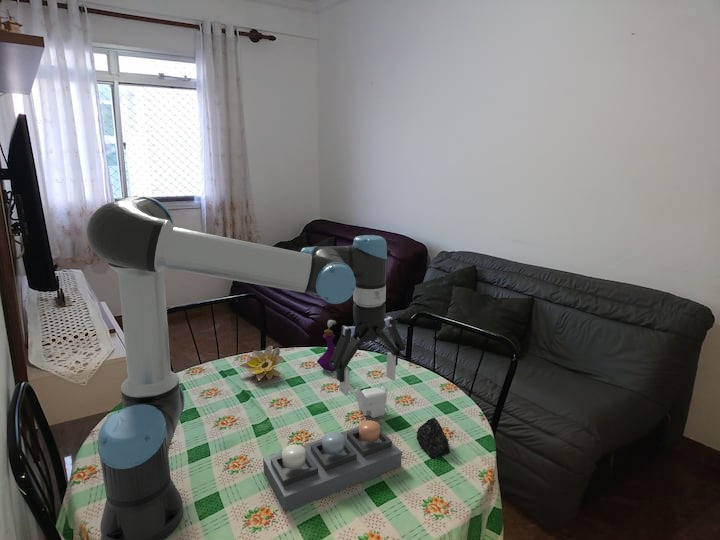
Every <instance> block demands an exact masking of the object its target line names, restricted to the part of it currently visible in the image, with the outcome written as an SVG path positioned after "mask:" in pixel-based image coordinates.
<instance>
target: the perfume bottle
mask: <svg viewBox="0 0 720 540" xmlns="http://www.w3.org/2000/svg"><path fill="white" fill-rule="evenodd" d="M336 324H337V321H336V320H333V319H329V320H327V327H328V329H325V330H324V332H323V333H324V334H323V335H322V337H323V339H324V340H326V343H327V347H326V350H325V351H324V352H323V354H322V355H321V356H320V357H319V358H318V359H317V360H316V363H317V364H318V365H319V366H320V367H321V368H322V370H324V371H328V372H331V373H334V372H336V371H337V369H336V370H335V369H334V368H333V367H331V366H330V365H329V362H330V359H331V357H332V355H333V352H334V350H335V348H336V346H335V344H334V342H333V340H334V339H335V334H333V333H334V332H333V330H331V329H330V328H331V327H332V326H333V325H336Z"/></svg>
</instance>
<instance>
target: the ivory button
mask: <svg viewBox="0 0 720 540" xmlns="http://www.w3.org/2000/svg"><path fill="white" fill-rule="evenodd" d="M281 452H282V463H283V466H284V467H286V468H288V469H298V468H300V467H302V466H303V465H304V464H305V462H306V455H305V448H304V447H302V445H300V444H291V445H288V446H285V447H284V448H283V449H282V451H281Z"/></svg>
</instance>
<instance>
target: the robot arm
mask: <svg viewBox="0 0 720 540" xmlns="http://www.w3.org/2000/svg"><path fill="white" fill-rule="evenodd" d="M86 237H87V241H88V244H89V246H90V247H91V249H92V250H93V252H94V253H95V254H96V255H97V256H98V257H99V258H100V259H102V260H104V261H106V262H107V264H108V267H109V268H111V269H112V270H114V271H115V272H116V273H117V276H118V277H117V278H118V279H117V280H118V287H119V289H118V290H119V297H120V307H121V308H120V309H121V318H122V319H121V320H122V330H123V339H124V350H125V362H126V371H127V378H126V379H125V380H124V381H123V382H122V384H121V385H120V393H121V403H122V409H119V410H118V412H117V413H113V414H111V415H109V416H108V417H107V419H106V420H105V421H104V422H103V423H102V425H101V427H100V429H99V431H98V436H97V439H98V440H97V452H98V455H99V459H100V466H101V471H102V472H101V473H102V477H103V479H102V480H103V484H104V490H105V496H106V501H105V504H104V507H103V508H104V509H103V512H102V516H101V520H100V526H99V527H100V528H99V529H100V536H101V539H102V540H165V539H166V538H168V537H169V536H170V535H171V534H172V533H173V532H174V531H175V530H176V529H177V527H178V526H179V525H180V523H181V521H182V519H183V516H184V515H183V514H184V504H183V498H182V495H181V493H180V492H179V490H178V489H177V487H176V485H175V484H174V482H173V480H172V479H171V478H172V477H171V468H170V460H169V458H170V457H169V453H170V452H169V450H170V446H171V443H172V441H173V438H174V435H175V432H176V429H177V426H178V424H179V421H180V418H181V417H182V414H183V412H184V409H185V408H184V407H185V392H184V390H183V388H182V386H181V385H180V381H179V380H180V379H179V376H178V374H177V373H175V372H174V371H172V368H171V353H170V342H169V341H170V340H169V325H168V311H167V297H166V282H165V270H167V269H168V270H173V271H179V272H185V273H190V274H195V275H201V276H202V275H203V276H207V277H213V278H218V279H224V280H229V281H235V282H242V283H248V284H254V285H258V286H259V285H260V286H263V287H264V286H265V287H268V288H269V287H270V288H275V289H282V290H286V291H291V292H292V291H293V292H298V293H304V294H308V295H309V294H310V295H315V296H319V297H320V298H321V300H323V301H324V302H326V303H328V304H332V305H338V304H343V303H345V302H347V301H348V300H349V299H351V298H352V297H353V298H352V299H353V302H354V303H353V304H352V306H353V307H352V313H353V314H352V317H353V325H352V326H346V325H345V324H344V325H342V326H341V327H340V328H341V330H340V336H339V339H338V341H337V343H336V345H335V350H334V352H333V355H332V357H331V359H330V362H329V365H330V366H331V367H333V368H334V369H335V371H336V379H337V381H338V382H339V391H340V392H341V393H342V394H343V395H344V396H348V395H349V368H347V366H348V365H349V364H350V362H351V361H352V359H353V357H354V356H355V354H356V353H357V351H358V350H359V348H360V347H362V346H363V345H364V343H369V342H371V341H376V340H377V339H379V341H381V343H382V344H383V345H384V346H385V347H386V348H387V350H388V351H389V352H386V373H385V375H386V377H387V378H388V379H390V380H391V381H395V380H396V369H397V368H396V366H398V363H399V357H401V355H402V352H403V351H405V350H406V347H405V344H404V342H403V339H402V338H401V335H400V332H399V331H398V329H397V324H396V323H397V322H396V319H395V318H394V317H392V316H390V315H386V310H387V309H386V308H387V307H386V305H387V304H385V302H386V298H387V297H386V296H387V295H386V294H387V285H386V284H387V265H388V264H387V262H388V253H387V252H388V249H387V248H388V247H387V241H386V239H385V238H384V237H382V236H380V235H372V234H363V235H358V236H355V237H354V239H353V242H352V245H342V246H341V245H340V246H339V245H337V246H336V245H335V246H332V245H331V246H317V245H315V246H311V247H310V246H307V247H303V248H301V250H300V252H299V251H296V250H290V249H285V248H282V247H281V248H280V247H276V246H272V245H271V246H270V245H266V244H261V243H257V242H256V243H255V242H251V241H245V240H240V239H235V238H230V237H225V236H222V235H221V236H220V235H215V234H211V233H206V232H201V231H195V230H191V229H186V228H181V227H176V226H175V225H174V219H173V215H172V214H171V212H170V210H169V209H168V208H167V206H166V205H165V204H163V203H162V202H160V201H159V200H157V199H155V198H152V197H150V196H145V195H131V196H125V197H123V198H121V199H119V200H116V201H111V202H108V203H106V204H103V205H101V206H100V207H99V208H97V209H96V210H95V211H94V212H93V214H92V215H91V217H90V218H89V220H88V223H87V228H86ZM385 327H386V328H387V331H388V333H389V335H390V337H391V339H392V341H391V340H390V339H389V338H388V336H387V335H386V333H385V332H384V331H383V330H384V328H385ZM358 339H359V340H358ZM392 342H393V343H392ZM336 369H337V370H336Z"/></svg>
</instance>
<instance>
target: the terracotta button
mask: <svg viewBox="0 0 720 540" xmlns="http://www.w3.org/2000/svg"><path fill="white" fill-rule="evenodd" d="M358 427H359V437H360V439H361V440H363V441H366V442H374V441H376V440H378V439H379V437H380V430H381V425H380V424H379V423H378V422H376V421H374V420H364V421H361V422H360V423H359V425H358Z"/></svg>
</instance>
